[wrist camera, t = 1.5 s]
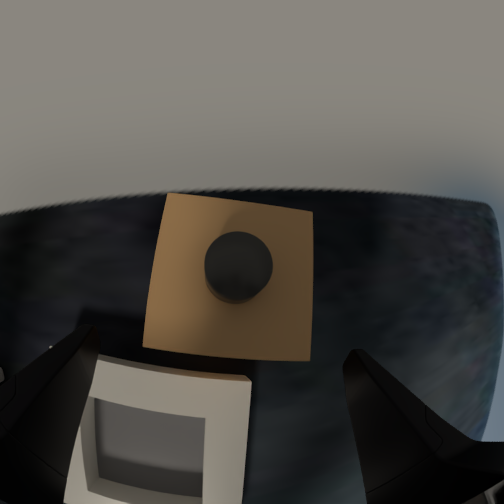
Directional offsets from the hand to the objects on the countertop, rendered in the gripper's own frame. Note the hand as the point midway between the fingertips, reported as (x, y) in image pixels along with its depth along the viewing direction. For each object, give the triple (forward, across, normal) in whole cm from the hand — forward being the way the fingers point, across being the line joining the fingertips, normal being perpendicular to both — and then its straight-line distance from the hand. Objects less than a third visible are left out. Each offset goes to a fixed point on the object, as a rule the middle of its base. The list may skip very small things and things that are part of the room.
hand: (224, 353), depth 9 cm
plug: (+9, 0, +5) cm, 10 cm away
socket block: (+1, +4, +13) cm, 14 cm away
